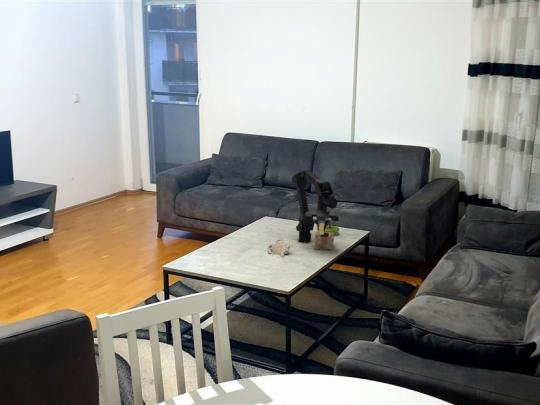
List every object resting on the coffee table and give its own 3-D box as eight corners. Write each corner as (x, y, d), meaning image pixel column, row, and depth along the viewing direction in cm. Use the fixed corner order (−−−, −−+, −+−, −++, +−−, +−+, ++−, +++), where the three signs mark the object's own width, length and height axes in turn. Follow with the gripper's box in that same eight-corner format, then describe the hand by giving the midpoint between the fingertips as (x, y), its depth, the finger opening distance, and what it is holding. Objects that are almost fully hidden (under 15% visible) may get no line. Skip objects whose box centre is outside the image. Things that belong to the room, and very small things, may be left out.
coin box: (314, 249, 341) (315, 237, 339) (316, 243, 350) (316, 231, 349) (332, 249, 340) (333, 237, 338) (333, 244, 349) (333, 232, 347)
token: (318, 234, 335) (319, 225, 334) (319, 231, 340) (319, 223, 339) (323, 234, 335) (323, 225, 334) (324, 231, 340) (324, 223, 338)
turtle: (294, 258, 335) (296, 240, 336) (289, 257, 326) (292, 239, 327) (267, 254, 340) (270, 236, 341) (262, 253, 332) (264, 235, 332)
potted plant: (313, 234, 367) (313, 210, 363) (322, 229, 377) (322, 205, 374) (334, 238, 360) (335, 213, 356) (342, 232, 371) (343, 208, 367)
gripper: (303, 207, 327) (303, 234, 331) (338, 209, 324) (337, 236, 328) (306, 201, 338) (305, 228, 342) (340, 203, 335) (338, 230, 339)
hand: (321, 231), depth 337 cm, fingers closed on token, 2 cm apart
